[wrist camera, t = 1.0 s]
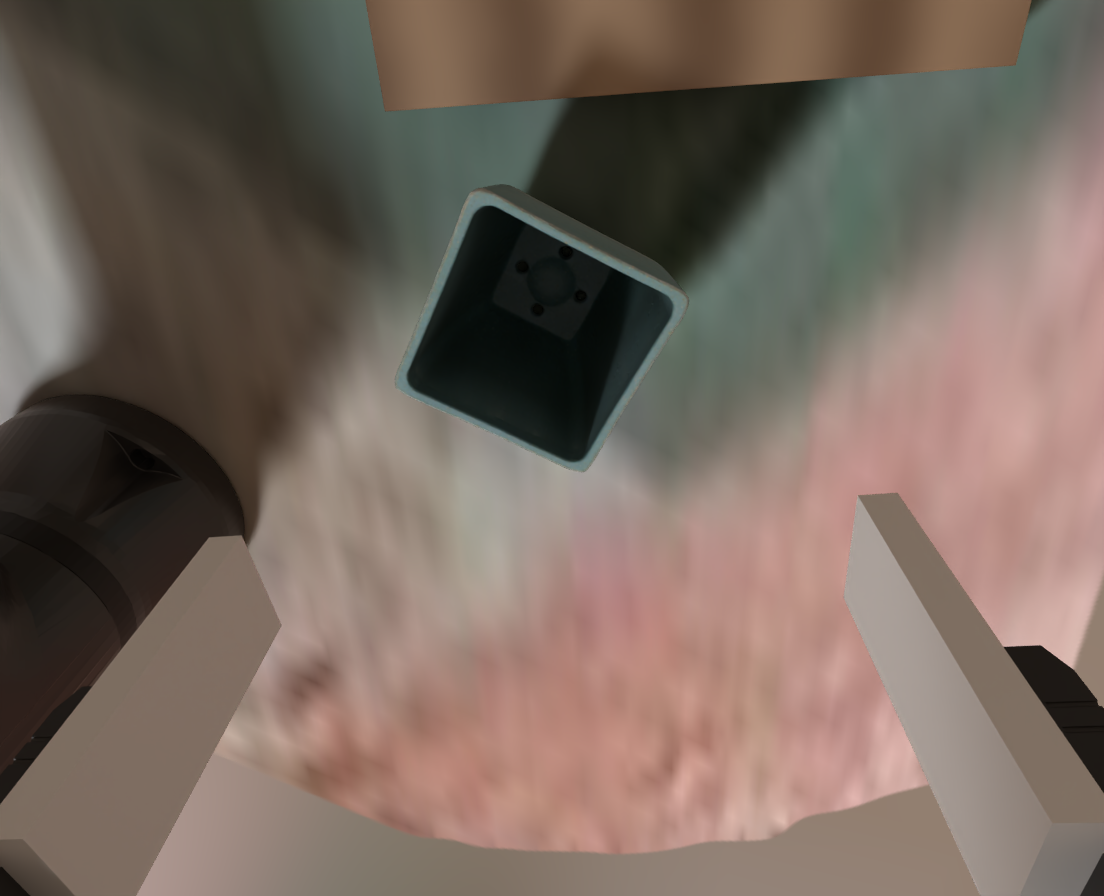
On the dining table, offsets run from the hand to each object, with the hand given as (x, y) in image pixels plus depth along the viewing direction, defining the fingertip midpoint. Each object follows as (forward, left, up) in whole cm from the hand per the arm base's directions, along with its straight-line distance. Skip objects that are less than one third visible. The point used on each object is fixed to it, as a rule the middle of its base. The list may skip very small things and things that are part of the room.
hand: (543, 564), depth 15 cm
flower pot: (-1, 0, -22) cm, 22 cm away
